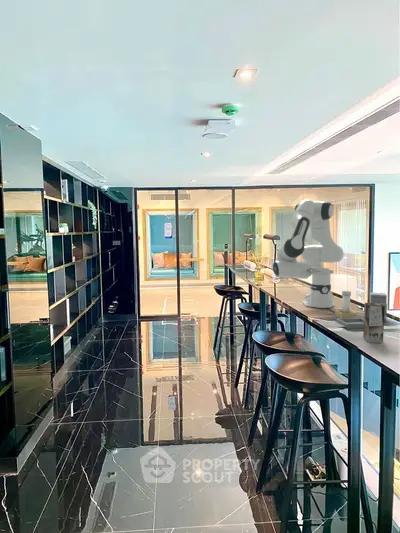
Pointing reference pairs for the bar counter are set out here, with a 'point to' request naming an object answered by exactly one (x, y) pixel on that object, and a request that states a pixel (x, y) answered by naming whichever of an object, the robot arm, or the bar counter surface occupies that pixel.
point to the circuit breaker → (379, 300)
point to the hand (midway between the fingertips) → (328, 271)
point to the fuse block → (344, 314)
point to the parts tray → (351, 325)
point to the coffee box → (374, 322)
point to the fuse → (346, 301)
